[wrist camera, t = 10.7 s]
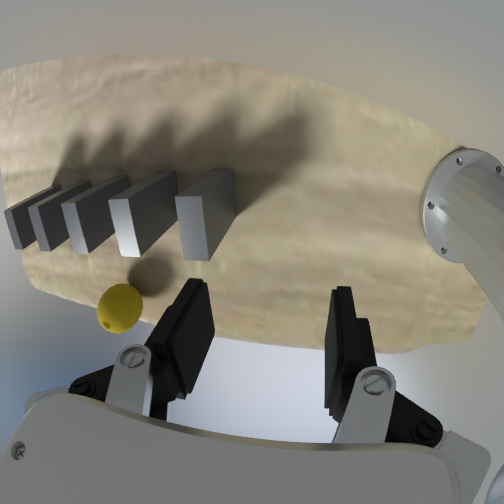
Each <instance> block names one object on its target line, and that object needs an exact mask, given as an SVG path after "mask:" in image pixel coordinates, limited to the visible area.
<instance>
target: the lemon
mask: <svg viewBox="0 0 504 504" xmlns="http://www.w3.org/2000/svg"><path fill="white" fill-rule="evenodd" d="M142 309H143V301H142V297H141V295H140V293H139V292H138V291H137V290H136V289H135V288H134V287H133V286H131V285H128V284H116V285H114V286H112V287H110V288H109V289H108V290H107V291H106V292H105V293H104V294H103V295H102V297H101V299H100V301H99V303H98V306H97V317H98V320H99V322H100V324H101V325H102V327H103V328H104V329H106V330H108V331H109V332H112V333H123V332H125V331H127V330H129V329H130V328H131V327H132V326H133V325H134V324H135V323H136V322H137V321H138V319H139V318H140V316H141V313H142Z"/></svg>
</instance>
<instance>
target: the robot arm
mask: <svg viewBox="0 0 504 504" xmlns="http://www.w3.org/2000/svg"><path fill="white" fill-rule="evenodd" d="M456 160H457V162H456ZM429 202H430V203H429ZM428 203H429V204H428ZM420 217H421V224H422V228H423V232H424V235H425V237H426V239H427V241H428V243H429V244H430V246H431V247H432V248H433V249H434V251H435V252H436V253H437V254H438V255H439V256H440V257H442V258H444V259H446V260H447V261H450V262H454V263H463V264H464V266H465V267H466V268H467V269H468V271H469V272H470V273H471V275H472V276H473V277H474V279H475V280H476V281H477V283H478V284H479V286H480V287H481V288H482V290H483V291H484V293H485V294H486V295H487V297H488V298H489V300H490V301H491V303H492V304H493V306H494V307H495V309H496V310H497V312H498V313H499V315H500V316H501V318H502V320H503V321H504V167H503V165H502V164H501V163H500V162H499V161H498V160H497V159H496V158H495V157H493V156H492V155H490V154H489V153H487V152H484V151H481V150H478V149H461V150H458V151H455V152H453V153H451V154H450V155H448V156H446V157H445V158H444V159H443V160H442V161H441V162H440V163H439V164H438V165H437V166H436V168H435V169H434V170H433V171H432V173H431V175H430V177H429V179H428V181H427V183H426V186H425V188H424V191H423V195H422V200H421V213H420ZM214 333H215V327H214V322H213V316H212V310H211V304H210V298H209V292H208V286H207V283H205V282H203V280H202V279H196V278H189V279H188V280H187V282H186V283H185V285H184V287H183V288H182V290H181V291H180V293H179V294H178V296H177V298H176V299H175V301H174V302H173V304H172V305H171V306H169V307H168V308H167V309H166V311H165V312H164V314H163V315H162V317H161V319H160V320H159V322H158V323H157V325H156V327H155V328H154V330H153V331H152V333H151V335H150V336H149V338H148V340H147V341H146V343H145V344H144V345H140V344H134V345H130V346H127V347H125V348H124V349H122V350H121V351H120V352H119V353H118V356H117V358H116V362H115V364H114V365H112V366H109V367H106V368H104V369H101V370H98V371H96V372H93V373H90V374H88V375H85V376H82V377H80V378H78V379H76V380H75V381H74V382H73V383H72V384H71V386H70V387H68V386H67V385H66V386H62V387H58V388H54V389H50V390H46V391H42V392H38V393H35V394H32V395H31V396H30V397H28V399H27V401H26V404H25V416H24V417H23V418H22V420H21V421H20V423H19V424H18V426H17V427H16V429H15V430H14V432H13V434H12V435H11V437H10V439H9V440H8V442H7V444H6V446H5V448H4V450H3V452H2V453H1V455H0V504H472V502H473V500H474V498H475V496H476V495H477V493H478V491H479V489H480V486H481V484H482V482H483V480H484V478H485V476H486V473H487V471H488V469H489V466H490V463H491V457H490V454H489V452H488V451H487V449H485V448H484V447H482V446H480V445H478V444H476V443H474V442H472V441H470V440H468V439H466V438H464V437H462V436H460V435H458V434H456V433H454V432H453V431H451V430H450V431H449V432H446V431H444V430H443V427H442V424H441V423H440V421H439V420H438V419H437V418H436V417H434V416H433V415H431V414H430V413H428V412H427V411H425V410H424V409H422V408H421V407H419V406H418V405H416V404H415V403H414V402H412V401H411V400H409V399H408V398H406V397H405V396H403V395H402V394H400V393H399V392H397V391H396V390H395V389H396V380H395V378H394V376H393V375H392V373H391V372H390V371H388V370H386V369H385V368H381V367H377V363H376V357H375V352H374V346H373V341H372V336H371V330H370V325H369V321H368V319H367V318H356V312H355V307H354V301H353V296H352V290H351V287H350V286H337V290H336V289H332V293H331V301H330V308H329V315H328V322H327V328H326V335H325V405H324V407H325V408H329V416H333V419H334V420H336V421H337V422H338V423H339V425H338V427H337V430H336V433H335V435H334V438H333V440H332V443H303V442H287V441H275V440H265V439H256V438H248V437H241V436H234V435H228V434H221V433H216V432H211V431H206V430H201V429H196V428H192V427H187V426H182V425H178V424H174V423H171V410H172V401H174V400H175V399H176V398H179V399H184V400H185V398H186V396H187V393H189V394H190V393H191V392H192V390H193V388H194V385H195V383H196V380H197V378H198V375H199V372H200V370H201V367H202V365H203V362H204V359H205V357H206V355H207V352H208V350H209V347H210V345H211V342H212V340H213V337H214ZM484 504H504V464H503V466H502V467H501V468H500V470H499V471H498V473H497V474H496V476H495V478H494V479H493V481H492V483H491V485H490V487H489V489H488V492H487V495H486V499H485V502H484Z"/></svg>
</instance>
